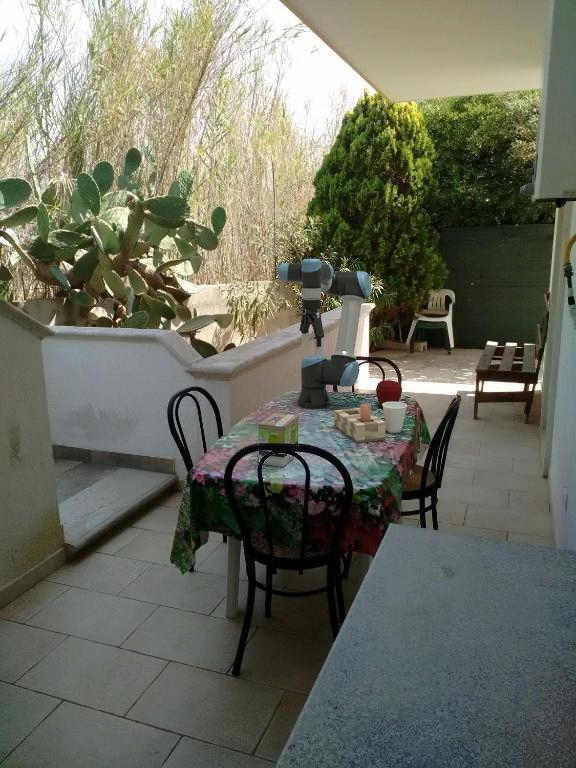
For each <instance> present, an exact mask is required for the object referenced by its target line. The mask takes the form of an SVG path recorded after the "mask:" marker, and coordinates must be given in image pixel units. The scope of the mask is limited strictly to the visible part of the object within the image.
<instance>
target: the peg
mask: <svg viewBox="0 0 576 768" xmlns="http://www.w3.org/2000/svg"><path fill="white" fill-rule="evenodd" d="M359 408H360V422H361V423H364V422H371V414H372V413H371V411H372V409H371V408H372V406H371V404H369V403H362V404H360V405H359Z"/></svg>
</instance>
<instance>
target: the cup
mask: <svg viewBox="0 0 576 768" xmlns="http://www.w3.org/2000/svg"><path fill="white" fill-rule="evenodd" d="M381 406H382V411H383V416H384V422H386V428H385V431H387V433H390V434H399V433H401V432H402V430H403V425H404V420H405V416H406V410H407V408H408V405H407V403H405V402H401V401H399V402H385V403H383V404H382V405H381Z"/></svg>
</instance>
